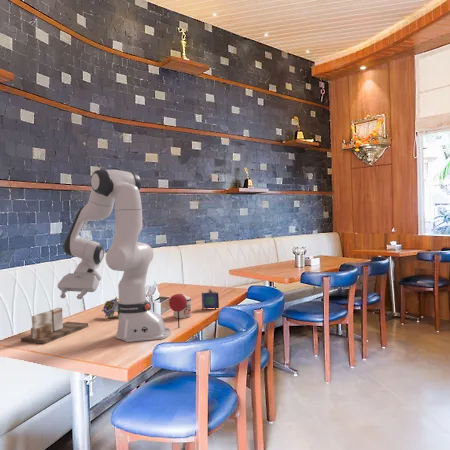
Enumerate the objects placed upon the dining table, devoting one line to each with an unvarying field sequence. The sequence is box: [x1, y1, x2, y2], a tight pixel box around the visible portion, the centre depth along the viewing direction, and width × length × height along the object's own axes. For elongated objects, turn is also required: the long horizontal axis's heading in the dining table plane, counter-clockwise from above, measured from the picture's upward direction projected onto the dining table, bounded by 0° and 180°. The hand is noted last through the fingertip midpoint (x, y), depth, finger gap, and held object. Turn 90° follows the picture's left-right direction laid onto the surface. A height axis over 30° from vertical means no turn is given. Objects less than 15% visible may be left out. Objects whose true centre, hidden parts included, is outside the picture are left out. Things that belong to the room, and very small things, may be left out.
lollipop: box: [168, 293, 187, 328], centre depth 179 cm, size 8×8×15 cm
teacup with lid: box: [173, 292, 192, 319], centre depth 201 cm, size 12×9×12 cm
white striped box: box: [51, 307, 64, 331], centre depth 176 cm, size 5×2×9 cm, turn 160°
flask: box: [201, 288, 220, 309], centre depth 214 cm, size 9×3×11 cm, turn 79°
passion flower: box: [101, 296, 119, 320], centre depth 203 cm, size 11×11×12 cm
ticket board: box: [20, 309, 89, 345], centre depth 176 cm, size 27×12×11 cm, turn 160°
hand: (70, 298), depth 184 cm, fingers open, 8 cm apart
